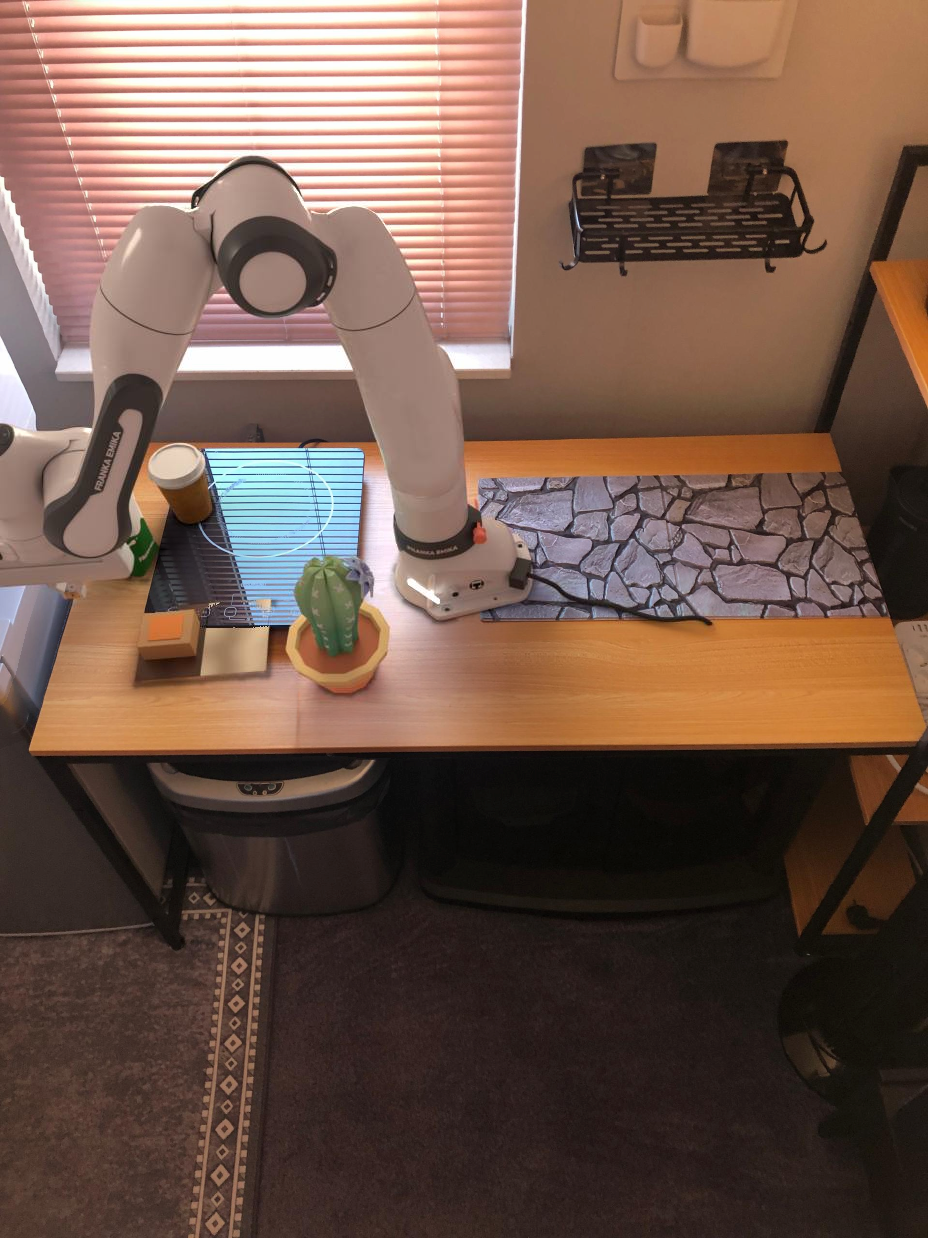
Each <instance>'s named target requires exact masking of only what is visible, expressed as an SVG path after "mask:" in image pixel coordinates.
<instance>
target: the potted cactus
mask: <svg viewBox="0 0 928 1238" xmlns="http://www.w3.org/2000/svg"><path fill="white" fill-rule="evenodd" d="M344 563H345V564H347V565H348V566H347V565H345V564H344ZM302 572H303V573H302V575H301V576H300V578H299V579H298V580H297V581H296V583H295V586H294V589H293V596H294V599H295V601H296V604H297V607H298V609H299V611H300V615H299V616H298V617H297V618H296V619H295V621H294V622H293V623H291V625H290V626H289V627H288V628H289V629H288V634H287V639H286V645H285V651H286V654H287V656H288V658H289V660H290V661H291V663H292V666H293V668H294V669H295V671H296V672H297V673H298V675H300V676H302V677H304V678H306V679H307V680H309V681H312V682H313V683H315V684H317V685H319V686H322V687H323V688H325V689H327V690H329V691H331V692H332V693H334V694H352V693H354V692H357V691H359V690H361V689H362V688H364V687H366V686H367V685H368V683H369V682H370V681H371V679H372V678H373V677H374V676H375V671H376V669H378V667H379V666H380V665H381V663H382V662H383V661H384V660H385V658H386V657H387V656H388V652H389V651H388V650H389V639H390V630H391V627H390V625H389V623H388V622H387V620H386V618H385V617H384V616H383V614H382V612H381V610H380V609H379V608H378V607H376V606H374V605H371V604H369V603H368V602H365V601H364V599H365V598H366V596H367V595H368V594H369V593H370V598H371V599H372V598H374V586H375V577H374V574H373V572H372V570H371V569H370V567H369V565H368V564H367V563H366V562H365V561H364V560H363V559H362V558H359V557H358V556H354V555H350V557H349V556H341V557H338V556H335V555H331V554H325V555H324V556H323V557H322V561H321V560H320V558H318V557H315V556H314V557H313V558H311V559H310V560H308V561H307V562H306V563H305V564H304V566H303V571H302Z"/></svg>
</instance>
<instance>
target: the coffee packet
mask: <svg viewBox="0 0 928 1238" xmlns="http://www.w3.org/2000/svg"><path fill="white" fill-rule="evenodd" d="M140 623H141V624H140V629H139V636H138V641H137V646H136V648H137V650H138V651H139V653H141V655H142V657H143V658H144V660H153V659H165V658H178V657H190V656H196V652H197V644H198V636H199V628H200V621H199V619H198V617H197V614H196V612H195V610H194V609H192V610H180V611H167V612H155V613H146V612H143V613H142V617H141V622H140Z"/></svg>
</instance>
